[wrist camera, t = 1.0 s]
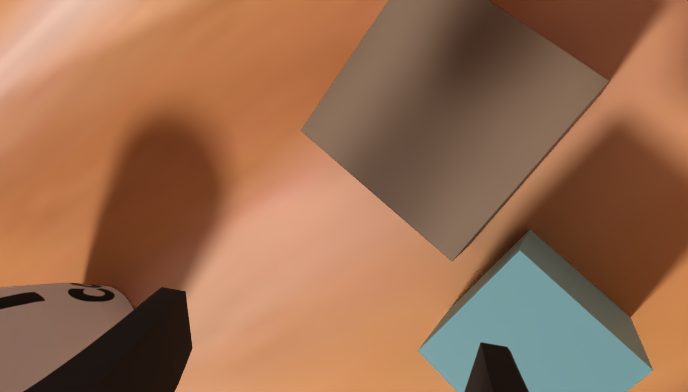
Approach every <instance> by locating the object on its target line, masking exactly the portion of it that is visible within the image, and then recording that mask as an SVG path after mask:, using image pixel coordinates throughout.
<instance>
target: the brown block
mask: <svg viewBox="0 0 688 392" xmlns="http://www.w3.org/2000/svg"><path fill="white" fill-rule="evenodd" d="M608 82H609V81H608V80H607V79H605V78H604V77H603V76H601V75H600V74H598V73H597V72H595V71H594V70H592V69H591V68H589V67H588V66H586V65H585V64H583V63H582V62H580V61H579V60H577V59H576V58H574V57H573V56H571V55H570V54H568V53H567V52H565V51H564V50H562V49H561V48H559V47H558V46H556V45H555V44H553V43H552V42H550V41H549V40H547V39H546V38H544V37H543V36H541V35H540V34H539V33H537V32H536V31H534V30H533V29H531V28H530V27H528V26H527V25H525V24H524V23H522V22H521V21H519V20H518V19H516V18H515V17H513V16H512V15H510V14H509V13H507V12H506V11H504V10H503V9H501V8H500V7H498V6H497V5H495V4H494V3H492V2H491V1H489V0H388V2H387V3H386V5H385V6H384V8H383V9H382V11H381V12H380V14H379V15H378V17H377V18H376V20H375V21H374V23H373V24H372V25H371V27H370V28H369V30H368V31H367V33H366V34H365V36H364V37H363V39H362V40H361V42H360V43H359V45H358V46H357V48H356V49H355V51H354V52H353V54H352V55H351V57H350V58H349V60H348V61H347V63H346V64H345V66H344V67H343V68H342V70H341V71H340V73H339V74H338V76H337V77H336V79H335V80H334V82H333V83H332V85H331V86H330V88H329V89H328V91H327V92H326V94H325V95H324V97H323V98H322V100H321V101H320V103H319V104H318V106H317V107H316V108H315V110H314V111H313V113H312V114H311V116H310V117H309V119H308V120H307V122H306V123H305V125H304V126H303V128H302V129H301V131H302V132H303V133H304V134H305V135H306V136H307V137H309V138H310V139H311V140H312V141H313V142H314V143H315V144H317V145H318V146H319V147H320V148H321V149H322V150H324V151H325V152H326V153H327V154H328V155H329V156H330V157H332V158H333V159H334V160H335V161H336V162H337V163H339V164H340V165H341V166H342V167H343V168H344V169H346V170H347V171H348V172H349V173H350V174H351V175H352V176H354V177H355V178H356V179H357V180H358V181H359V182H361V183H362V184H363V185H364V186H365V187H366V188H368V189H369V190H370V191H371V192H372V193H373V194H374V195H376V196H377V197H378V198H379V199H380V200H381V201H383V202H384V203H385V204H386V205H387V206H388V207H389V208H391V209H392V210H393V211H394V212H395V213H396V214H398V215H399V216H400V217H401V218H402V219H403V220H405V221H406V222H407V223H408V224H409V225H410V226H411V227H413V228H414V229H415V230H416V231H417V232H418V233H420V234H421V235H422V236H423V237H424V238H425V239H427V240H428V241H429V242H430V243H431V244H432V245H433V246H435V247H436V248H437V249H438V250H439V251H440V252H442V253H443V254H444V255H445V256H446V257H447V258H449V259H450V260H451V261H453V260H454V259H455V258H456V257H457V256H458V255H459V254H460V253H462V252H463V251H464V250H465V249H466V248H467V247H468V246H469V245H470V244H471V243H472V241H473V240H474V239H475V238H476V237H477V236H478V235H479V233H480V232H481V231H482V230H483V229H484V228H485V227H486V225H487V224H488V223H489V222H490V221H491V220H492V218H493V217H494V216H495V215H496V214H497V213H498V212H499V210H500V209H501V208H502V207H503V206H504V205H505V204H506V202H507V201H508V200H509V199H510V198H511V197H512V196H513V194H514V193H515V192H516V191H517V190H518V189H519V188H520V186H521V185H522V184H523V183H524V182H525V181H526V180H527V178H528V177H529V176H530V175H531V174H532V173H533V171H534V170H535V169H536V168H537V167H538V166H539V165H540V163H541V162H542V161H543V160H544V159H545V158H546V157H547V155H548V154H549V153H550V152H551V151H552V150H553V149H554V147H555V146H556V145H557V144H558V143H559V142H560V141H561V139H562V138H563V137H564V136H565V135H566V134H567V132H568V131H569V130H570V129H571V128H572V127H573V126H574V124H575V123H576V122H577V121H578V120H579V119H580V118H581V116H582V115H583V114H584V113H585V112H586V111H587V110H588V108H589V107H590V106H591V105H592V104H593V103H594V102H595V100H596V99H597V98H598V97H599V96H600V95H601V93H602V91H603V90H604V88H605V87H606V85H607V83H608Z"/></svg>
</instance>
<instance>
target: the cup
mask: <svg viewBox="0 0 688 392" xmlns="http://www.w3.org/2000/svg"><path fill="white" fill-rule="evenodd" d="M133 310H134V309H133V307H132V305H131V304H130V302H129V301H128V299H127V298H126V297H125V296H124V295H123V294H122V293H121V292H120V291H118V290H117V289H115V288H113V287H110V286H103V285H90V284H77V283H54V284H40V285H26V286H13V287H0V392H23V391H25V390H26V389H28V388H30V387H31V386H33V385H34V384H36V383H37V382H39V381H40V380H42V379H43V378H44V377H46V376H47V375H49V374H50V373H52V372H53V371H54V370H56V369H57V368H59V367H60V366H61V365H63V364H64V363H66V362H67V361H68V360H70V359H71V358H73V357H74V356H75V355H77V354H78V353H79V352H81V351H82V350H83V349H85V348H86V347H87V346H89V345H90V344H91V343H93V342H94V341H95V340H96V339H98V338H99V337H100V336H102V335H103V334H104V333H105V332H107V331H108V330H109V329H111V328H112V327H113V326H114V325H116V324H117V323H118V322H119V321H121V320H122V319H123V318H124V317H126V316H127V315H128V314H129V313H130V312H132V311H133Z"/></svg>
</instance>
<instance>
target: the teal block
mask: <svg viewBox="0 0 688 392" xmlns="http://www.w3.org/2000/svg"><path fill="white" fill-rule="evenodd" d="M481 342H483V343H488V344H494V345H500V346H506V347H508V348H509V350H510V351H511V353H512V356H513V358H514V360H515V363H516V365H517V367H518V369H519V371H520V374H521V376H522V378H523V380H524V382H525V384H526V387H527V389H528V391H529V392H627V391H628V390H629V389H630V388H632V387H633V386H634V385H635V384H637V383H638V382H639V381H641V380H642V379H643V378H644V377H646V376H647V375H648V374H649V373H651V372H652V371H653V369H652V366H651V364H650V362H649V359H648V357H647V355H646V352H645V350H644V348H643V345H642V343H641V341H640V338H639V336H638V334H637V331H636V329H635V327H634V324H633V322H632V320H631V317H630V316H628V315H627V314H626V313H625V312H624V311H623V310H622V309H620V308H619V307H618V306H617V305H616V304H615V303H614V302H612V301H611V300H610V299H609V298H608V297H607V296H606V295H605V294H603V293H602V292H601V291H600V290H599V289H598V288H597V287H595V286H594V285H593V284H592V283H591V282H590V281H589V280H587V279H586V278H585V277H584V276H583V275H582V274H581V273H579V272H578V271H577V270H576V269H575V268H574V267H573V266H572V265H570V264H569V263H568V262H567V261H566V260H565V259H564V258H562V257H561V256H560V255H559V254H558V253H557V252H556V251H554V250H553V249H552V248H551V247H550V246H549V245H548V244H547V243H545V242H544V241H543V240H542V239H541V238H540V237H539V236H537V235H536V234H535V233H534V232H533V231H532V230H531V229H529V230H528V231H527V232H526V233H525V234H524V235H523V236H522V237H521V238H520V239H519V240H518V241H517V242H516V243H515V244H514V245H513V246H512V247H511V248H510V249H509V250H508V251H507V252H506V253H505V254H504V255H503V256H502V257H501V258H500V259H499V260H498V261H497V262H496V263H495V264H494V265H493V266H492V267H491V268H490V269H489V270H488V271H487V272H486V273H485V274H484V275H483V276H482V277H481V278H480V279H479V280H478V281H477V282H476V283H475V284H474V285H473V286H472V287H471V288H470V289H469V290H468V291H467V292H466V293H465V294H464V295H463V296H462V297H461V298H460V299H459V300H458V301H457V302H456V303H455V304H454V305H453V306H452V307H451V308H450V309H449V311H448V312H447V313H446V315H445V316H444V317H443V318H442V320H441V321H440V322H439V324H438V325H437V326H436V328H435V329H434V330H433V332H432V333H431V334H430V336H429V337H428V338H427V339H426V341H425V342H424V343H423V345H422V346H421V347H420V349H419V350H418V352H419V353H420V354H421V355H422V356H423V357H424V358H425V359H426V360H427V361H428V362H429V363H430V364H431V365H432V366H433V367H434V368H435V369H436V370H437V371H438V372H439V373H440V374H441V375H442V376H443V377H444V378H445V379H446V380H447V381H448V383H449V384H450V385H451V386H452V387H453V388H454V389H455V390H456V391H457V392H465V388H466V385H467V382H468V379H469V376H470V373H471V370H472V367H473V364H474V361H475V358H476V355H477V352H478V349H479V346H480V343H481Z"/></svg>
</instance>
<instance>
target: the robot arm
mask: <svg viewBox="0 0 688 392" xmlns="http://www.w3.org/2000/svg"><path fill="white" fill-rule="evenodd" d="M191 350H192V341H191V333H190V325H189V317H188V308H187V300H186V292H185V291H180V290H174V289H169V288H163V287H162V288H160V289H159V290H158V291H156V292H155V293H154V294H153V295H151V296H150V297H149V298H148V299H146V300H145V301H144V302H143V303H141V304H140V305H139V306H138V307H137V308H135V309H134V310H133V311H132V312H130V313H129V314H128V315H127V316H126V317H124V318H123V319H122V320H121V321H119V322H118V323H117V324H116V325H114V326H113V327H112V328H111V329H109V330H108V331H107V332H105V333H104V334H103V335H102V336H100V337H99V338H98V339H96V340H95V341H94V342H93V343H91V344H90V345H89V346H87V347H86V348H85V349H83V350H82V351H81V352H79V353H78V354H77V355H75V356H74V357H73V358H71V359H70V360H68V361H67V362H66V363H64V364H63V365H61V366H60V367H59V368H57V369H56V370H54V371H53V372H52V373H50V374H49V375H47V376H46V377H44V378H43V379H42V380H40V381H39V382H37V383H36V384H34V385H33V386H31V387H30V388H28V389H26V390H25V391H23V392H174V391H175V389H176V388H177V385H178V383H179V381H180V378H181V376H182V373H183V371H184V368H185V366H186V363H187V361H188V358H189V356H190V353H191ZM465 392H529V391H528V389H527V387H526V384H525V382H524V380H523V378H522V376H521V374H520V371H519V369H518V367H517V365H516V363H515V360H514V358H513V356H512V353H511V351H510V350H509V348H508V347H506V346H500V345H494V344H488V343H483V342H481V343H480V346H479V349H478V352H477V355H476V358H475V361H474V364H473V367H472V370H471V373H470V376H469V379H468V382H467V385H466V388H465Z"/></svg>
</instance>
